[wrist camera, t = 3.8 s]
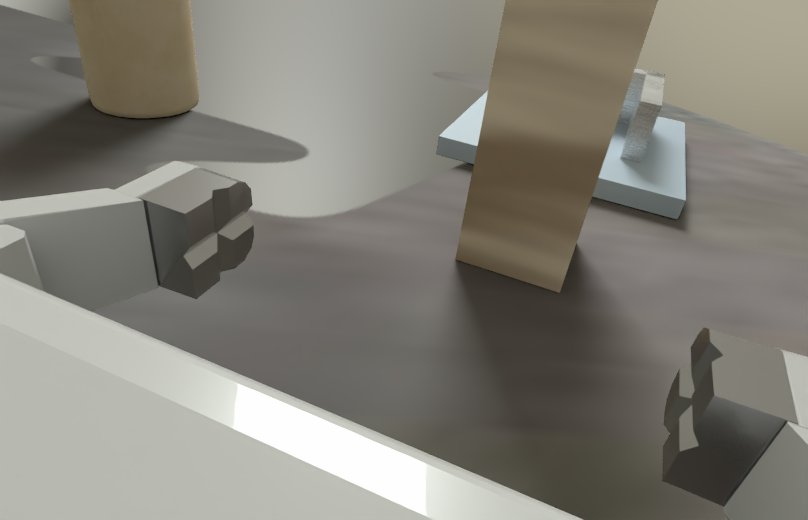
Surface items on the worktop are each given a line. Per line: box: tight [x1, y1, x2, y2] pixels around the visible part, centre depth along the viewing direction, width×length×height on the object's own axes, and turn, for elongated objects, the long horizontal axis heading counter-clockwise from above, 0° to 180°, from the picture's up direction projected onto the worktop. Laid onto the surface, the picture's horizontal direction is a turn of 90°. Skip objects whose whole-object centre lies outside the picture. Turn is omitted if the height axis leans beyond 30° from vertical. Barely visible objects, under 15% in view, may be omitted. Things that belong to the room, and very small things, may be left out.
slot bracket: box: [617, 68, 665, 163], centre depth 31 cm, size 8×7×3 cm
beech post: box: [456, 0, 658, 293], centre depth 19 cm, size 4×4×11 cm
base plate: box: [436, 91, 686, 220], centre depth 32 cm, size 12×12×1 cm
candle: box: [69, 0, 199, 118], centre depth 28 cm, size 6×6×10 cm
